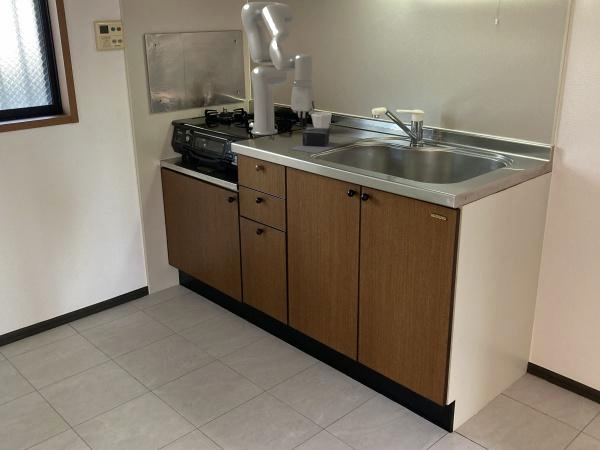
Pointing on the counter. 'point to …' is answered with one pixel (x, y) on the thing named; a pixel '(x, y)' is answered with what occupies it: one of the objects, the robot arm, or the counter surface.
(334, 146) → the mat
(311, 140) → the small box
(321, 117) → the cup
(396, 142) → the counter surface
